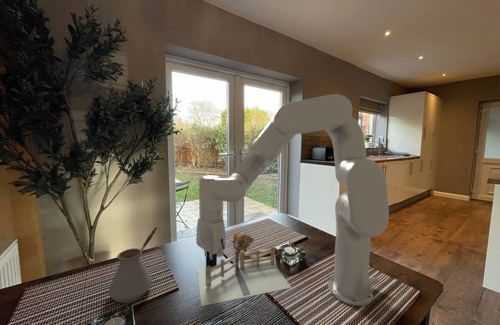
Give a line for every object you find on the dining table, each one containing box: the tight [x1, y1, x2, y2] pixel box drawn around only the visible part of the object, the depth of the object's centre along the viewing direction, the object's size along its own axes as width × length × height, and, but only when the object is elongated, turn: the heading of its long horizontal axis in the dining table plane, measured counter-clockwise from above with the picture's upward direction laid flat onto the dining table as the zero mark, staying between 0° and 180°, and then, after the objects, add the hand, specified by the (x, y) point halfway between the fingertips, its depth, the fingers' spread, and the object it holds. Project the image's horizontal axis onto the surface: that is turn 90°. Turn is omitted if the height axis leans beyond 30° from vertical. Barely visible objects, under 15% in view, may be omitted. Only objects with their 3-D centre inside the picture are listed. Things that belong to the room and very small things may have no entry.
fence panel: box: [205, 249, 240, 288], centre depth 72 cm, size 14×1×6 cm, turn 139°
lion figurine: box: [231, 231, 255, 253], centre depth 92 cm, size 15×5×9 cm, turn 36°
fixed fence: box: [239, 245, 276, 270], centre depth 79 cm, size 13×1×7 cm, turn 107°
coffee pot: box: [108, 226, 161, 304], centre depth 70 cm, size 21×12×15 cm, turn 174°
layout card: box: [197, 260, 292, 307], centre depth 73 cm, size 28×18×1 cm, turn 107°
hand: (211, 268), depth 71 cm, fingers closed
